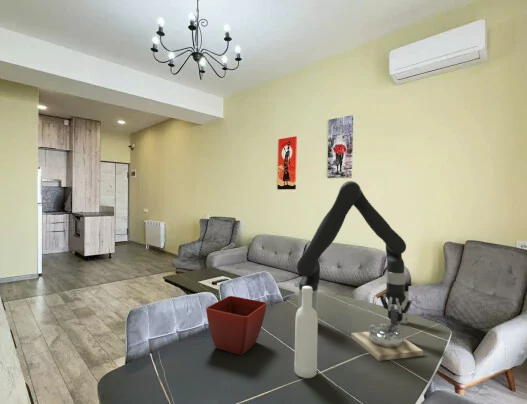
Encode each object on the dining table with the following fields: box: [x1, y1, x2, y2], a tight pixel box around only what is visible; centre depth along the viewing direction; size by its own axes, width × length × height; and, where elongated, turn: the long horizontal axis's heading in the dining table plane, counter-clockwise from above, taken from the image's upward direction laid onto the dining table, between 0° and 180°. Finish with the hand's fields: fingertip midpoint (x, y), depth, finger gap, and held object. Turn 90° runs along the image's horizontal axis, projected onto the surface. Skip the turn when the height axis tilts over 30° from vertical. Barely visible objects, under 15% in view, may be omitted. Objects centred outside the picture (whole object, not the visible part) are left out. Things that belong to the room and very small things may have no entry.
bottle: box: [293, 286, 319, 379], centre depth 105 cm, size 8×8×30 cm
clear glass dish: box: [368, 308, 403, 348], centre depth 128 cm, size 19×13×10 cm
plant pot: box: [205, 295, 267, 356], centre depth 123 cm, size 19×19×17 cm
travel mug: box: [394, 282, 410, 326], centre depth 151 cm, size 6×7×20 cm
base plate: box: [350, 330, 424, 362], centre depth 125 cm, size 20×20×2 cm
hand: (395, 319), depth 133 cm, fingers closed on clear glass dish, 3 cm apart
